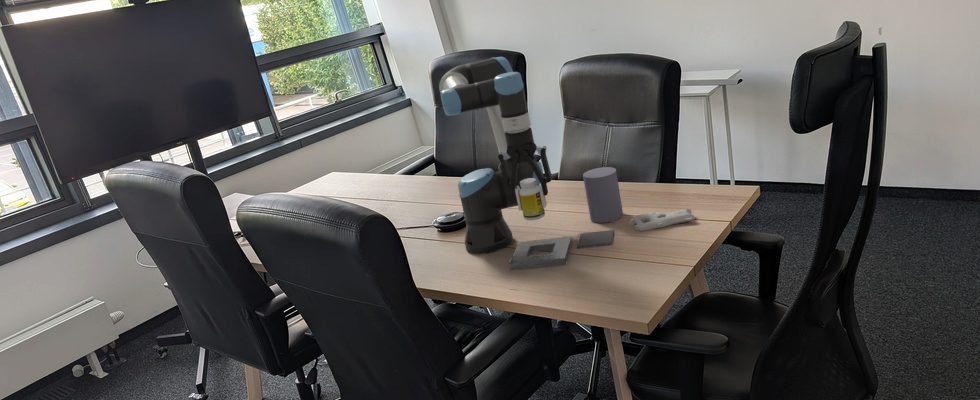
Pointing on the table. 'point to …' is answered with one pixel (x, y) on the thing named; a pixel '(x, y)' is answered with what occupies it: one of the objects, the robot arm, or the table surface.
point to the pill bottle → (531, 200)
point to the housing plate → (558, 256)
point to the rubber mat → (595, 239)
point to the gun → (661, 219)
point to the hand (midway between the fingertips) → (532, 207)
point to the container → (603, 194)
